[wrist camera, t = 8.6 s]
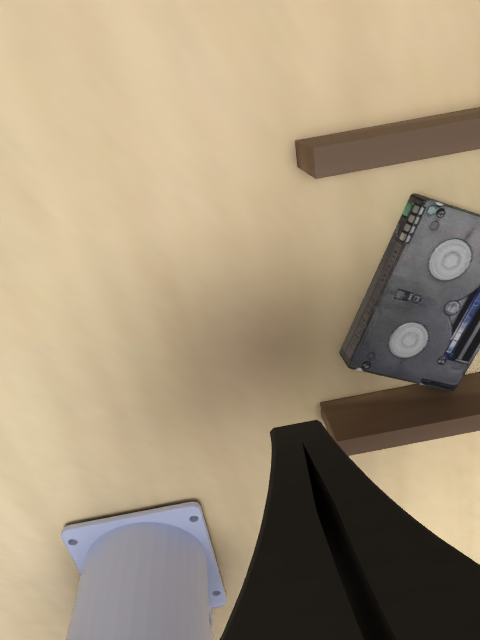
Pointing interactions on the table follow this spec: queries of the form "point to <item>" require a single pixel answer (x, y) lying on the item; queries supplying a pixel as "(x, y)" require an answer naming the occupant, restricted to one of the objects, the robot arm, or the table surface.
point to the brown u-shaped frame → (416, 400)
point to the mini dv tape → (422, 300)
